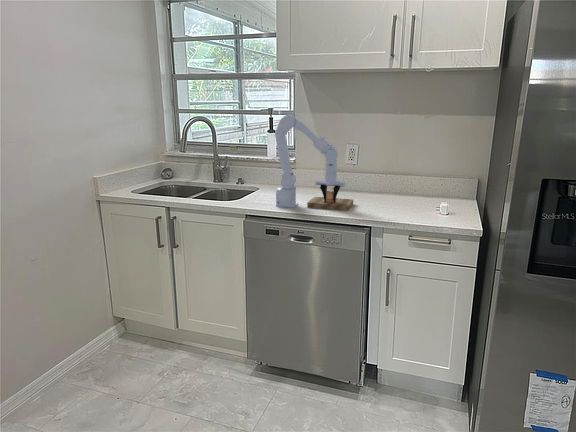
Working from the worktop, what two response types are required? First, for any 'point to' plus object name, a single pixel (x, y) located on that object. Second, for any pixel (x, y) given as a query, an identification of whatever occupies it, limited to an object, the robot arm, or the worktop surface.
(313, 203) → the socket board
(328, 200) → the dowel
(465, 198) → the worktop surface
